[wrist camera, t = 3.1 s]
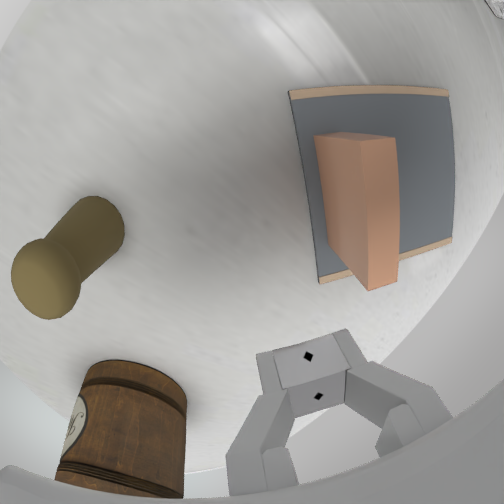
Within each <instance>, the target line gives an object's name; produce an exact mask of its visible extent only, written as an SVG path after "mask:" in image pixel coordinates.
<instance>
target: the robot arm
mask: <svg viewBox="0 0 504 504" xmlns="http://www.w3.org/2000/svg"><path fill="white" fill-rule="evenodd" d="M486 2H487V3H488V5H489V6H490V8H491V9H492V11H493V12H494V14H495V15H496V16H497V17H499V18H502V19H504V0H486ZM256 360H257V365H258V370H259V375H260V380H261V385H262V390H263V395H259V396H258V398H257V400H256V402H255V404H254V405H253V407H252V409H251V411H250V413H249V415H248V417H247V418H246V420H245V422H244V424H243V426H242V427H241V429H240V431H239V433H238V435H237V436H236V438H235V440H234V442H233V443H232V445H231V447H230V449H229V450H228V452H227V454H226V465H227V476H228V486H229V495H230V496H229V497H218V498H198V499H168V498H149V497H137V496H128V495H120V494H114V493H107V492H102V491H96V490H91V489H87V488H82V487H78V486H74V485H70V484H66V483H62V482H59V481H55V480H52V479H49V478H46V477H43V476H40V475H37V474H34V473H31V472H28V471H26V470H24V469H21V468H19V467H16V466H12V465H8V466H6V467H4V468H3V469H2V470H0V504H504V379H503V380H502V381H501V382H500V383H499V384H497V385H496V386H495V387H494V388H493V389H491V390H490V391H489V392H488V393H487V394H485V395H484V396H483V397H482V398H480V399H479V400H477V401H476V402H475V403H474V404H472V405H471V406H469V407H468V408H467V409H465V410H464V411H463V412H461V413H459V414H458V415H457V416H455V417H454V418H453V417H452V415H451V414H450V412H449V411H448V410H447V408H446V406H445V405H444V403H443V402H442V400H441V399H440V397H439V396H438V394H437V393H436V391H435V390H434V388H433V387H431V386H429V385H426V384H424V383H421V382H419V381H417V380H414V379H412V378H410V377H407V376H405V375H403V374H400V373H398V372H396V371H393V370H391V369H389V368H387V367H385V366H382V365H380V364H378V363H376V362H373V361H370V362H367V360H366V359H365V357H364V355H363V354H362V352H361V350H360V349H359V347H358V345H357V344H356V342H355V340H354V339H353V337H352V336H351V334H350V332H349V331H348V330H347V329H343V330H340V331H337V332H334V333H331V334H328V335H325V336H321V337H318V338H315V339H312V340H309V341H305V342H302V343H299V344H295V345H291V346H287V347H283V348H279V349H275V350H272V351H267V352H263V353H258V354H256ZM342 403H345V405H347V406H348V407H350V408H351V409H353V410H354V411H356V412H357V413H359V414H360V415H362V416H364V417H365V418H367V419H368V420H369V421H371V422H372V423H374V424H375V425H377V426H378V427H380V428H382V431H381V434H380V436H379V439H378V441H377V443H376V446H375V448H376V450H377V452H378V454H379V457H380V458H378V459H375V460H373V461H370V462H368V463H365V464H363V465H361V466H358V467H355V468H352V469H350V470H347V471H344V472H341V473H338V474H335V475H332V476H329V477H326V478H322V479H319V480H316V481H311V482H308V483H304V484H300V485H299V482H298V479H297V475H296V472H295V469H294V466H293V463H292V460H291V457H290V454H289V451H288V449H287V448H284V447H285V445H286V442H287V440H288V437H289V434H290V431H291V429H292V426H293V423H294V420H295V419H294V418H297V417H301V416H304V415H307V414H310V413H313V412H316V411H319V410H323V409H326V408H330V407H333V406H336V405H339V404H342Z"/></svg>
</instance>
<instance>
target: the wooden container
mask: <svg viewBox="0 0 504 504" xmlns="http://www.w3.org/2000/svg"><path fill="white" fill-rule="evenodd" d="M186 413H187V400H186V396H185V394H184V392H183V391H182V389H181V388H180V387H179V386H178V385H177V384H176V383H175V382H174V381H173V380H171V379H170V378H169V377H167V376H166V375H164V374H162V373H160V372H158V371H156V370H154V369H152V368H149V367H146V366H143V365H140V364H136V363H132V362H126V361H104V362H100V363H97V364H95V365H93V366H92V367H91V368H90V369H89V370H88V372H87V374H86V376H85V379H84V382H83V384H82V387H81V390H80V393H79V395H78V397H77V400H76V403H75V406H74V409H73V412H72V415H71V419H70V423H69V426H68V431H67V434H66V438H65V442H64V446H63V450H62V454H61V458H60V464H59V466H58V468H57V472H56V476H55V481H59V482H62V483H66V484H70V485H74V486H78V487H82V488H87V489H91V490H96V491H102V492H107V493H114V494H120V495H128V496H137V497H149V498H168V499H183V496H184V465H185V446H186Z"/></svg>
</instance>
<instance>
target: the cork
mask: <svg viewBox="0 0 504 504" xmlns="http://www.w3.org/2000/svg"><path fill="white" fill-rule="evenodd" d="M124 235H125V233H124V223H123V220H122V217H121V214H120V213H119V212H118V210H117V209H116V207H115V206H114V205H113V204H111V203H110V202H109V201H108V200H106V199H104V198H101V197H98V196H88V197H85V198H83V199H80V200H79V201H78V202H77V203H76V204H75V205H74V206H73V207H72V208H71V209H70V210H69V211H68V212H67V213H66V214H65V215H64V216H63V217H62V219H61V220H60V221H59V222H58V223H57V224H56V225H55V226H54V227H53V229H52V230H51V231H50V232H49V233H48V234H47V236H46V237H45V238H44V239H37V240H34V241H32V242H29V243H27V244H26V245H25V246H23V247H22V248H21V250H20V251H19V252H18V253H17V255H16V257H15V258H14V261H13V265H12V270H11V282H12V285H13V288H14V291H15V293H16V295H17V297H18V299H19V300H20V302H21V303H22V304H23V305H24V307H25V308H26V309H27V310H29V311H30V312H31V313H32V314H34V315H36V316H38V317H40V318H43V319H48V320H50V319H56V318H61V317H62V316H64V315H65V314H66V313H68V312H69V311H70V310H72V308H73V306H74V305H75V303H76V301H77V299H78V297H79V294H80V289H81V283H82V282H83V281H84V280H85V279H87V278H88V277H89V276H90V275H91V274H92V273H93V272H94V271H95V270H96V269H98V268H99V267H100V266H101V265H102V264H103V263H104V262H105V261H107V260H108V259H109V258H110V257H111V256H112V255H114V254H115V253H116V252H117V251H118V250H119V248H120V246H121V245H122V243H123V239H124Z"/></svg>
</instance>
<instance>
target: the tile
mask: <svg viewBox="0 0 504 504" xmlns="http://www.w3.org/2000/svg"><path fill="white" fill-rule="evenodd" d="M313 137H314V142H315V148H316V154H317V160H318V167H319V173H320V180H321V187H322V194H323V202H324V210H325V218H326V227H327V237H328V245H329V246H330V247H331V248H332V250H333V251H334V252H335V253H336V254H337V255H338V256H339V258H340V259H341V260H342V261H343V262H344V263H345V265H346V266H347V267H348V268H349V269H350V270H351V272H352V273H353V274H354V275H355V276H356V278H357V279H358V280H359V281H360V282H361V284H362V285H363V286H364V287H365V288H366V290H367V291H370V290H373V289H376V288H379V287H382V286H385V285H388V284H391V283H394V282H397V277H398V262H399V239H400V198H399V175H398V161H397V150H396V140H395V138H394V137H387V136H379V135H371V134H361V133H350V132H335V133H327V134H320V135H313Z"/></svg>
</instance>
